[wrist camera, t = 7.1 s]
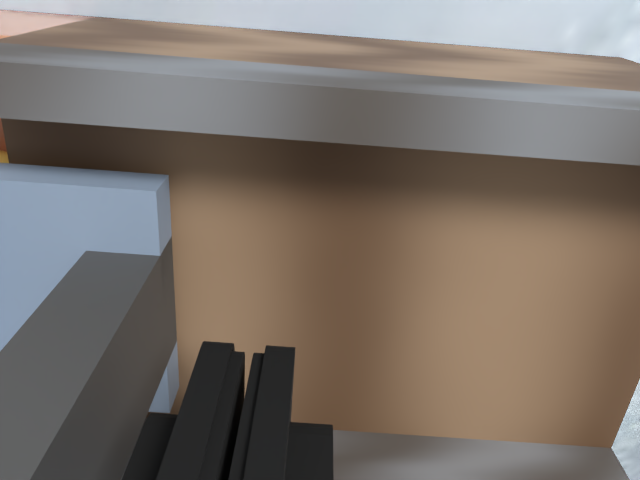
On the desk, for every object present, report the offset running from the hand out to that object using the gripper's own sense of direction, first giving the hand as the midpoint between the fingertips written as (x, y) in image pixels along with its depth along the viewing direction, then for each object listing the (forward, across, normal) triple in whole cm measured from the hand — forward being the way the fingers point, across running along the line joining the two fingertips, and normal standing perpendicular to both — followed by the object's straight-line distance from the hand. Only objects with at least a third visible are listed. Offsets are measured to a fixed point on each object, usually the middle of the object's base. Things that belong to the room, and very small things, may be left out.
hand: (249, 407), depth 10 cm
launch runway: (+10, -2, 0) cm, 10 cm away
